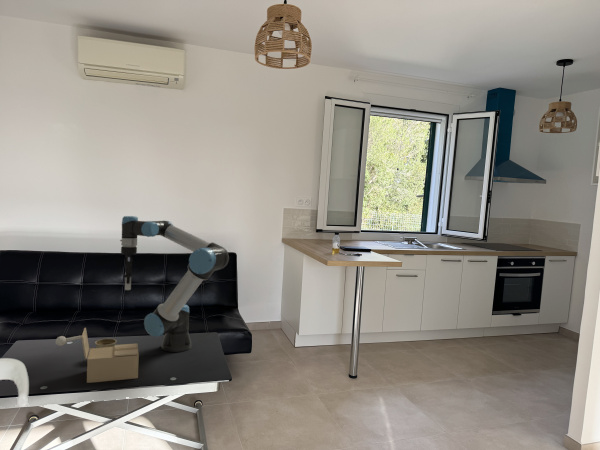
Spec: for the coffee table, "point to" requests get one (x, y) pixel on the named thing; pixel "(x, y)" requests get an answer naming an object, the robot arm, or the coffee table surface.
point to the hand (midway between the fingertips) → (127, 287)
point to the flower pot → (105, 343)
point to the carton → (113, 363)
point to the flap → (62, 340)
